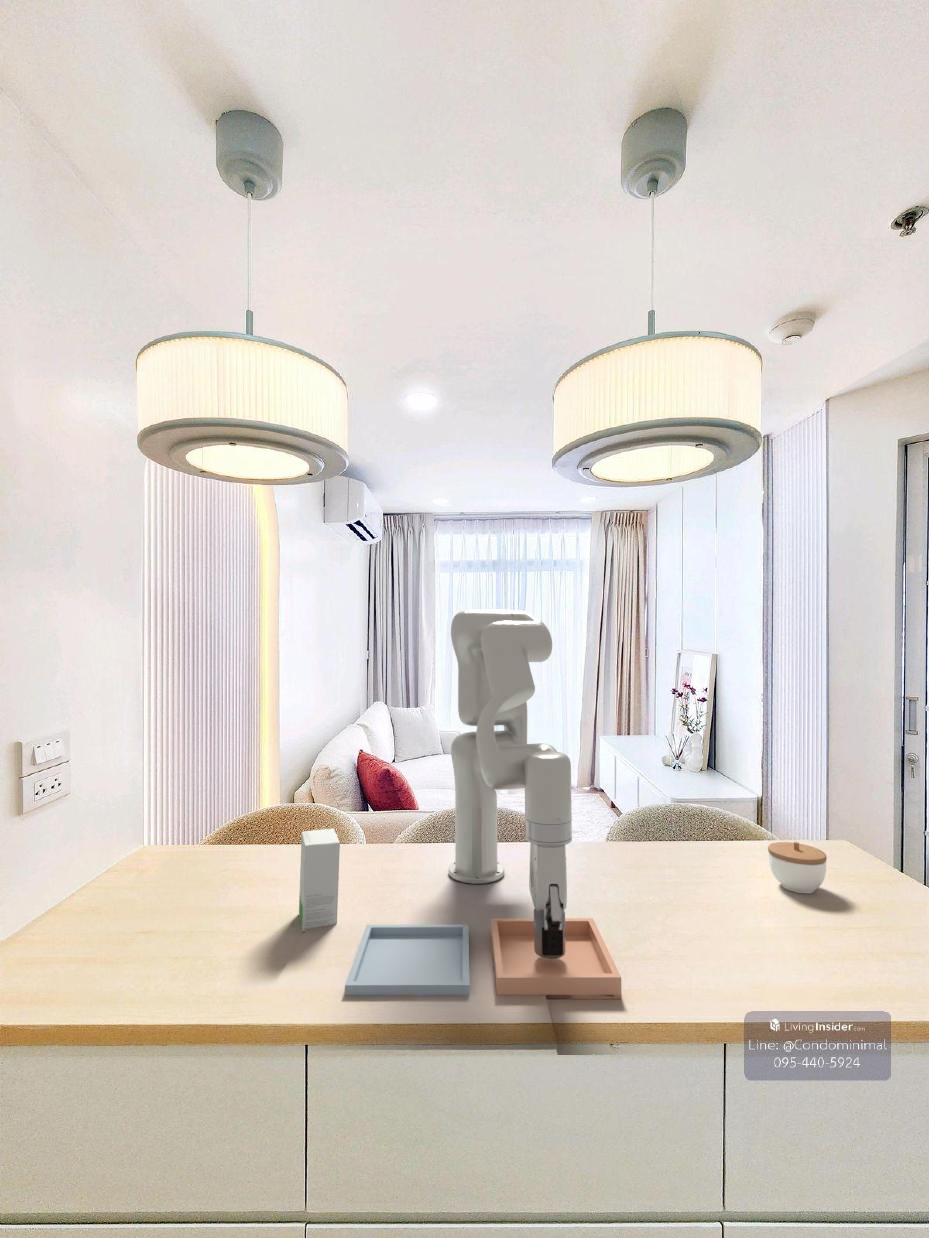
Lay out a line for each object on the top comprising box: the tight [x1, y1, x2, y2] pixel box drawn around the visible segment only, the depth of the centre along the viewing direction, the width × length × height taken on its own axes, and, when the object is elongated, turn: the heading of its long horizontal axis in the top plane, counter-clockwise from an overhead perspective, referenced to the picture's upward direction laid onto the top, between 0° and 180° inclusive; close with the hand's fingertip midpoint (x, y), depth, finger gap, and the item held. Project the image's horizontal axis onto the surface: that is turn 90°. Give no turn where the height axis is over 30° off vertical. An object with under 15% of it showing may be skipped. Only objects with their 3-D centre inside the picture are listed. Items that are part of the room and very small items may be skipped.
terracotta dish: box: [490, 917, 623, 1000], centre depth 90 cm, size 18×18×3 cm
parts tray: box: [344, 923, 470, 997], centre depth 90 cm, size 18×18×2 cm
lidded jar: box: [767, 841, 828, 895], centre depth 119 cm, size 11×11×9 cm
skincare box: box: [298, 827, 341, 933], centre depth 106 cm, size 8×7×16 cm
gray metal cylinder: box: [533, 905, 566, 959], centre depth 90 cm, size 5×5×6 cm
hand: (549, 943), depth 90 cm, fingers closed on gray metal cylinder, 5 cm apart
